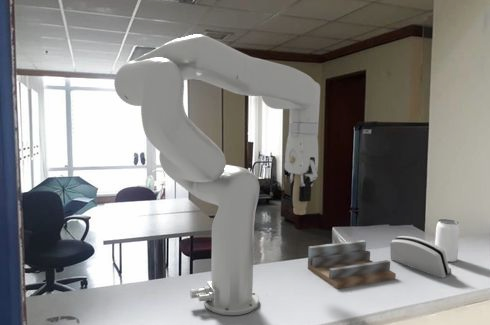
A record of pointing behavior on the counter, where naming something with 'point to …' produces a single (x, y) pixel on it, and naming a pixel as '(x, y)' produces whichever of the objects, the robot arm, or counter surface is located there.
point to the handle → (298, 206)
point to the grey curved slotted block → (420, 255)
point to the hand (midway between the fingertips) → (300, 198)
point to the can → (448, 238)
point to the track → (347, 264)
